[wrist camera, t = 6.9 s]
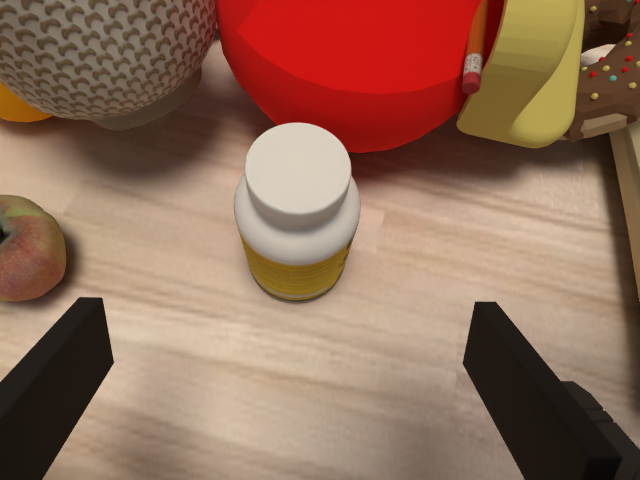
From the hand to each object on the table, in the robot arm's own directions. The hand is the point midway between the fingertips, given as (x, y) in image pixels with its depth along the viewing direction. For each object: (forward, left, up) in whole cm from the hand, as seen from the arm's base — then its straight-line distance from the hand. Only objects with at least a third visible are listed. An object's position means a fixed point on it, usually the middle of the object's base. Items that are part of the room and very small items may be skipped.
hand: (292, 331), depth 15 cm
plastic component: (-10, -23, +5) cm, 26 cm away
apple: (+18, -3, -12) cm, 22 cm away
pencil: (-7, -23, -2) cm, 24 cm away
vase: (0, -22, -12) cm, 25 cm away
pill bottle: (+1, -7, -12) cm, 14 cm away
